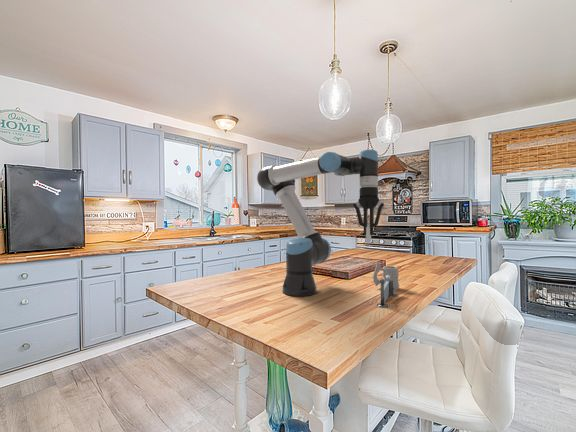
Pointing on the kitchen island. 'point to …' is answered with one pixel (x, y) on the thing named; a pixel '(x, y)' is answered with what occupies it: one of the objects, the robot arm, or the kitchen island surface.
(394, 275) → the mug
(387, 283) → the gate
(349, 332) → the kitchen island surface
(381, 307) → the hinge post
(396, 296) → the stop post
